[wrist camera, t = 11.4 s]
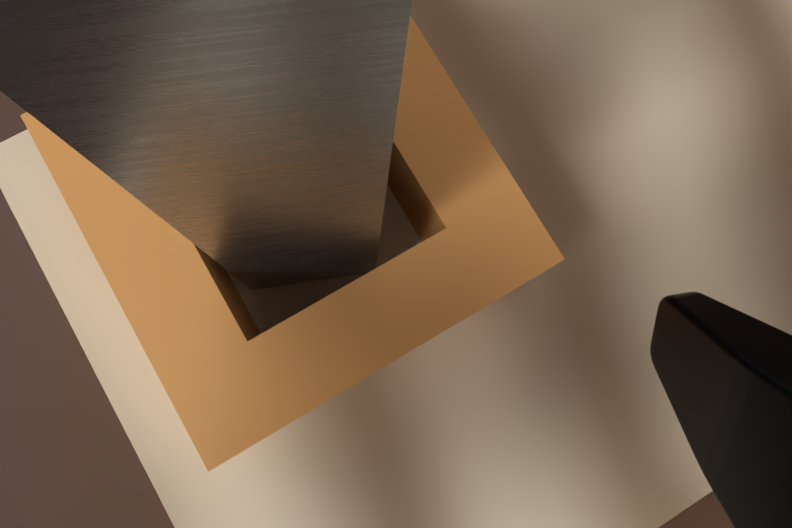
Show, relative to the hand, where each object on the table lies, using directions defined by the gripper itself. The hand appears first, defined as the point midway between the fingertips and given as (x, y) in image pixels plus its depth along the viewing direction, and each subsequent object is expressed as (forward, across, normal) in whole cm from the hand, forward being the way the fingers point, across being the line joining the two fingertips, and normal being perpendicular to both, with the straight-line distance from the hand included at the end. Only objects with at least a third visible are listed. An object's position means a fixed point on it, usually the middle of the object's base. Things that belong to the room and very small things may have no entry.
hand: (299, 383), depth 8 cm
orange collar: (+8, 0, +3) cm, 9 cm away
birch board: (+8, -6, +4) cm, 11 cm away
